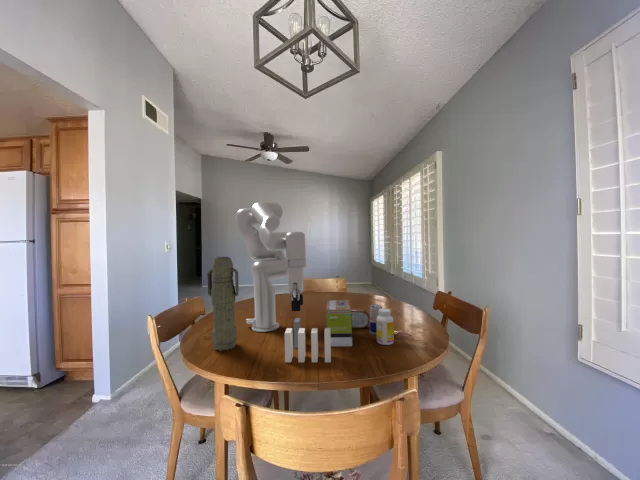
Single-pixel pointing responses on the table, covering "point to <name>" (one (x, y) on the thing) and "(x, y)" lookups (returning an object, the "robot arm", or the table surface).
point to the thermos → (223, 302)
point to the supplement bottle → (385, 327)
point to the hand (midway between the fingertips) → (297, 307)
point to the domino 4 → (314, 344)
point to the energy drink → (373, 317)
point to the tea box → (339, 322)
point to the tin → (360, 318)
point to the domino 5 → (327, 345)
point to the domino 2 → (296, 331)
